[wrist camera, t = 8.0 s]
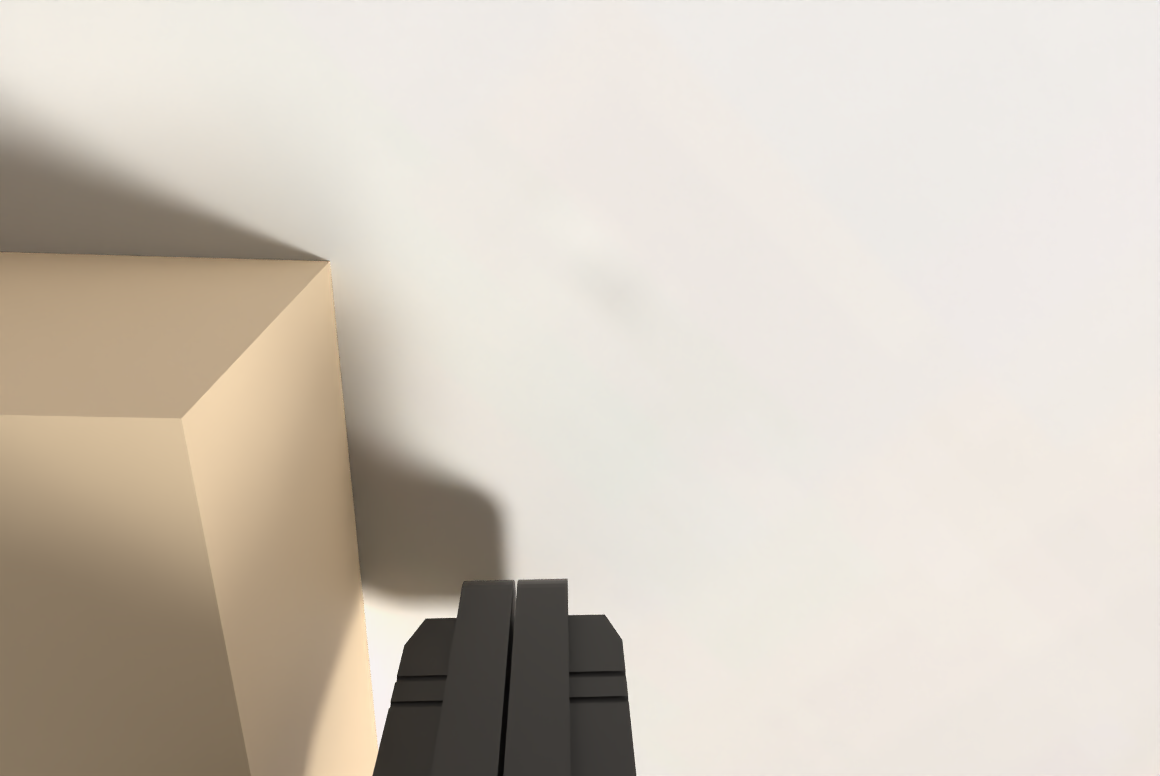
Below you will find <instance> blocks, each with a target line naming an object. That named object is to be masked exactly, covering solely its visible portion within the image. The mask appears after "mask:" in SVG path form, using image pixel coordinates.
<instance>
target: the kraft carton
mask: <svg viewBox="0 0 1160 776" xmlns="http://www.w3.org/2000/svg"><path fill="white" fill-rule="evenodd" d="M377 755H378V745H377V735H376V725H375V715H374V705H373V694H372V684H371V674H370V664H369V654H368V644H367V634H366V624H365V613H364V603H363V593H362V583H361V573H360V563H359V553H358V543H357V532H356V522H355V512H354V502H353V492H352V482H351V472H350V461H349V451H348V441H347V431H346V421H345V411H344V401H343V391H342V380H341V370H340V360H339V350H338V340H337V330H336V320H335V309H334V299H333V289H332V279H331V269H330V261H308V260H272V259H236V258H200V257H165V256H129V255H93V254H57V253H21V252H0V776H372V775H373V771H374V767H375V763H376V759H377Z"/></svg>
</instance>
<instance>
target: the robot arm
mask: <svg viewBox="0 0 1160 776" xmlns="http://www.w3.org/2000/svg"><path fill="white" fill-rule="evenodd" d="M372 776H636V769H635V759H634V749H633V740H632V730H631V720H630V711H629V702H628V691H627V682H626V675H625V662H624V653H623V643H622V639H621V638H620V636H619V635H618V633H617V632H616V630H615V629H614V627H613V626H612V625H611V623H610V622H609V620H608V619H607V617H606V616H605V615H568V581H567V579H534V580H518V583H517V596H516V590H515V581H514V580H495V581H464V583H463V586H462V591H461V597H460V603H459V609H458V615H457V618H433V619H425V620H424V622H423V623H422V624H421V625H420V627H419V628H418V629H417V630H416V632H415V633H414V634H413V635H412V637H411V638H410V639H409V640H408V642H407V643H406V644H405V645H404V649H403V654H402V658H401V662H400V666H399V670H398V674H397V682H395V686H394V690H393V694H392V698H391V707H390V708H389V710H388V714H387V718H386V722H385V727H384V731H383V735H382V739H381V743H380V747H379V751H378V755H377V759H376V763H375V767H374V771H373V775H372Z"/></svg>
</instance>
